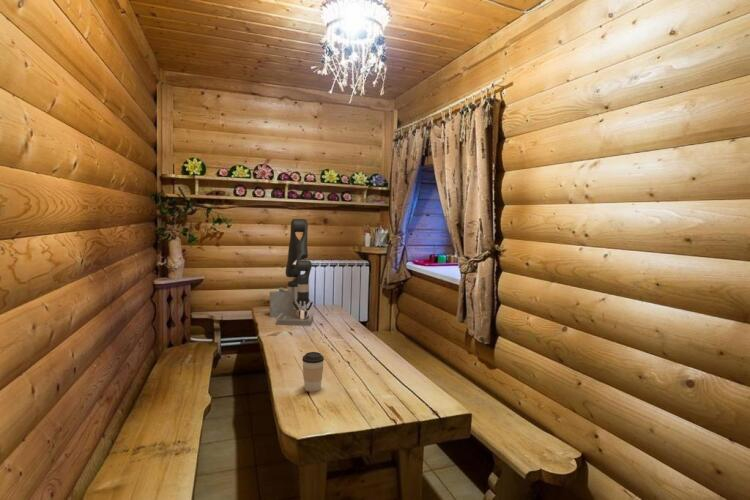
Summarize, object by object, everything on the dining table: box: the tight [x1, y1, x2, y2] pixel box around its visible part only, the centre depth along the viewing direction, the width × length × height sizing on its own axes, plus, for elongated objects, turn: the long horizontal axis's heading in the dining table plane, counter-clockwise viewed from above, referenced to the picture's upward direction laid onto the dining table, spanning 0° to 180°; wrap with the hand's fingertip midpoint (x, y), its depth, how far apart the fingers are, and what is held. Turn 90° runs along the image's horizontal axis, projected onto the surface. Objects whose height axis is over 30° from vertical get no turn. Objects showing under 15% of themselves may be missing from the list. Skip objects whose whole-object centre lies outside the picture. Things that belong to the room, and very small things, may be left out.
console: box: [276, 313, 314, 327], centre depth 275 cm, size 12×22×4 cm, turn 90°
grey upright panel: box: [269, 287, 294, 318], centre depth 290 cm, size 16×4×20 cm, turn 109°
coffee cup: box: [301, 351, 325, 393], centre depth 174 cm, size 9×9×15 cm
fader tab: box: [300, 309, 305, 319], centre depth 274 cm, size 5×2×5 cm, turn 0°
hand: (302, 316), depth 274 cm, fingers closed on fader tab, 2 cm apart
